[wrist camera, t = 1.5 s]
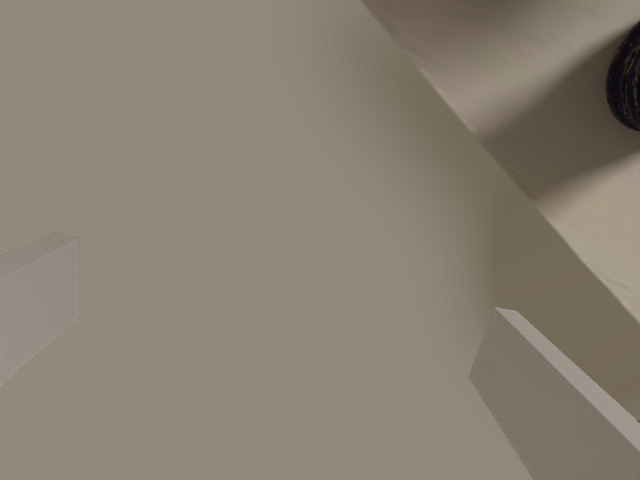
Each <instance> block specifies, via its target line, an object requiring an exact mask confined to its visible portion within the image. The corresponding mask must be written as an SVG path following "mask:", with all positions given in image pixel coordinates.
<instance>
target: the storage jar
mask: <svg viewBox="0 0 640 480" xmlns="http://www.w3.org/2000/svg"><path fill="white" fill-rule="evenodd" d="M606 96H607V101H608V104H609V107H610V109H611V111H612V113H613V115H614V116H615V117H616V118H617V119H618V120H619V122H621V123H622V124H623V125H625V126H626V127H628V128H631V129H633V130H635V131H639V132H640V22H639V23H638V24H637V25H636V26H635V27H634V28H633V29H632V30H631V31H630V33H629V34H628V35H627V36H626V37H625V39H624V40H623V42H622V43H621V44H620V46H619V47H618V49H617V51H616V53H615V55H614V57H613V59H612V61H611V64H610V67H609V70H608V75H607V80H606Z"/></svg>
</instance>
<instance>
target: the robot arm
mask: <svg viewBox="0 0 640 480" xmlns="http://www.w3.org/2000/svg"><path fill="white" fill-rule="evenodd" d="M79 295H80V237H77V236H71V235H65V234H60V233H54V232H53V233H51V234H48V235H46V236H44V237H42V238H39V239H37V240H35V241H32V242H30V243H28V244H26V245H23V246H21V247H19V248H16V249H15V250H12V251H9V252H7V253H5V254H3V255H0V386H2V385H3V384H4V383H5V382H6V381H7V380H9V379H10V378H11V377H12V376H13V375H14V374H16V373H17V372H18V371H19V370H20V369H21V368H22V367H24V366H25V365H26V364H27V363H28V362H29V361H31V360H32V359H33V358H34V357H35V356H36V355H37V354H39V353H40V352H41V351H42V350H43V349H44V348H46V347H47V346H48V345H49V344H50V343H51V342H53V341H54V340H55V339H56V338H57V337H58V336H59V335H61V334H62V333H63V332H64V331H65V330H66V329H67V328H68V327H70V326H71V325H72V324H73V323H74V322H76V321H77V320H78V319H79V310H80V308H79V307H80V301H79V300H80V296H79ZM469 378H470V380H471V382H472V383H473V385H474V386H475V388H476V390H477V391H478V393H479V394H480V396H481V397H482V399H483V401H484V402H485V404H486V405H487V407H488V409H489V410H490V412H491V413H492V415H493V416H494V418H495V420H496V421H497V423H498V424H499V426H500V428H501V429H502V431H503V432H504V434H505V435H506V437H507V439H508V440H509V442H510V443H511V445H512V447H513V448H514V450H515V451H516V453H517V455H518V456H519V458H520V459H521V461H522V462H523V464H524V466H525V467H526V469H527V470H528V472H529V474H530V475H531V477H532V478H533V480H640V422H639V421H638V420H636V419H635V418H634V417H632V416H631V415H630V414H629V413H628V412H627V411H626V410H625V409H624V408H622V407H621V406H620V405H619V404H618V403H617V402H616V401H615V400H614V399H613V398H611V397H610V396H609V395H608V394H607V393H606V392H605V391H604V390H603V389H602V388H601V387H599V386H598V385H597V384H596V383H595V382H594V381H593V380H592V379H591V378H590V377H588V376H587V375H586V374H585V373H584V372H583V371H582V370H581V369H580V368H579V367H577V366H576V365H575V364H574V363H573V362H572V361H571V360H570V359H569V358H567V357H566V356H565V355H564V354H563V353H562V352H561V351H560V350H559V349H558V348H556V347H555V346H554V345H553V344H552V343H551V342H550V341H549V340H547V338H545V337H544V336H543V335H542V334H541V333H540V332H539V331H538V330H537V329H535V328H534V327H533V326H532V325H531V324H530V323H529V322H528V321H527V320H526V319H525V318H523V317H522V316H521V315H520V314H519V313H518V312H517V311H513V310H507V309H501V308H494V311H493V313H492V316H491V318H490V321H489V324H488V326H487V330H486V332H485V334H484V337H483V340H482V342H481V345H480V348H479V350H478V353H477V356H476V358H475V361H474V364H473V366H472V369H471V372H470V375H469Z"/></svg>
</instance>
